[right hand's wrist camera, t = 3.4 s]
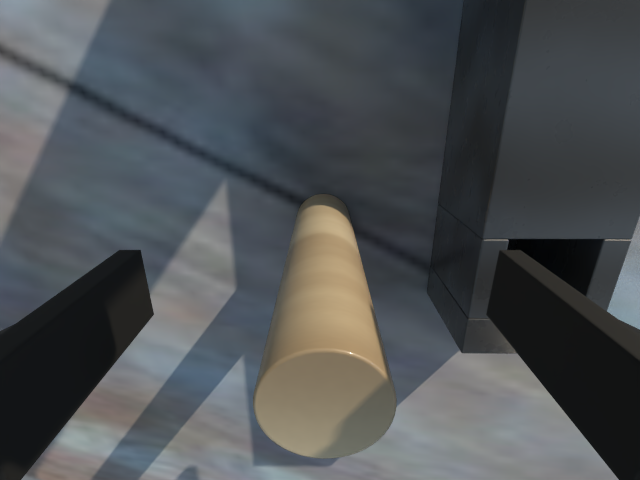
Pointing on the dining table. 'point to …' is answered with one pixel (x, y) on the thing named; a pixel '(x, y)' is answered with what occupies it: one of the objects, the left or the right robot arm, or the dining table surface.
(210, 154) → the dining table surface
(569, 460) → the dining table surface
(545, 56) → the peg board
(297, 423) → the peg
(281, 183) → the dining table surface
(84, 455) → the dining table surface
